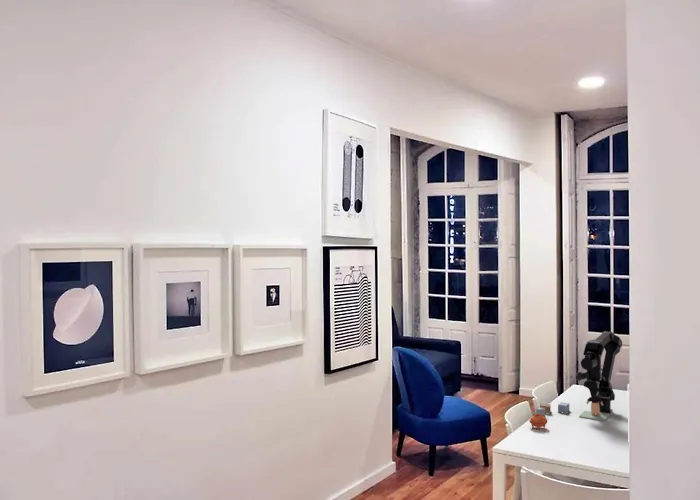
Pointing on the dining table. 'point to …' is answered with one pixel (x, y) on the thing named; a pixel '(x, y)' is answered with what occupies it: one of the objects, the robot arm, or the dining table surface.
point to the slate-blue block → (563, 407)
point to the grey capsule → (540, 411)
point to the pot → (538, 421)
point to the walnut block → (546, 407)
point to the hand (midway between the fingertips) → (594, 398)
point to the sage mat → (588, 415)
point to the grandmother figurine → (595, 406)
